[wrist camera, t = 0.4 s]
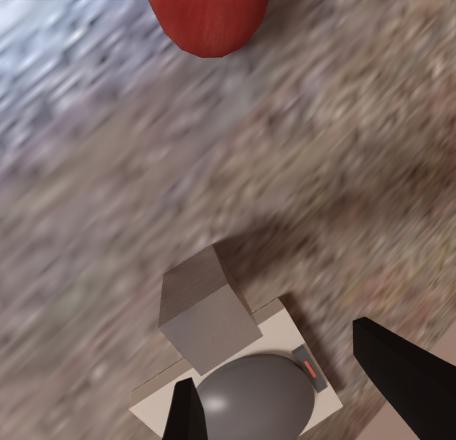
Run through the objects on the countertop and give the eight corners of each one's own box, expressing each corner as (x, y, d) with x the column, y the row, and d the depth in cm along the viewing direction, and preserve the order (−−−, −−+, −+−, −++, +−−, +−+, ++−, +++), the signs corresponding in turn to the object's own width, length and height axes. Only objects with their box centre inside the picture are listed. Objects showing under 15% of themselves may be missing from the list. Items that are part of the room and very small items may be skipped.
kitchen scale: (218, 470, 25) (222, 503, 23) (131, 391, 20) (126, 422, 18) (333, 392, 26) (349, 416, 24) (277, 297, 21) (290, 315, 19)
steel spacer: (193, 312, 20) (201, 376, 14) (163, 274, 18) (158, 327, 13) (238, 284, 20) (263, 335, 14) (211, 244, 18) (228, 283, 13)
